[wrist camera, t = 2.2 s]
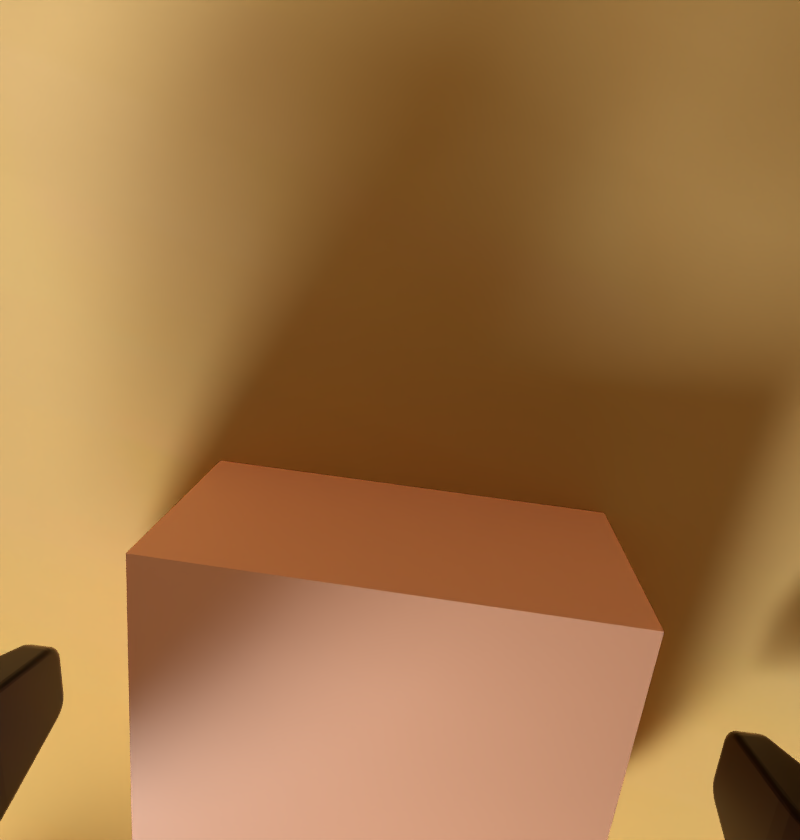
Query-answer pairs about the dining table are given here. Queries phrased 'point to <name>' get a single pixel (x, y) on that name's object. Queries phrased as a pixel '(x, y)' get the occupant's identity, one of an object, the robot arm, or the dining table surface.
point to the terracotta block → (379, 664)
